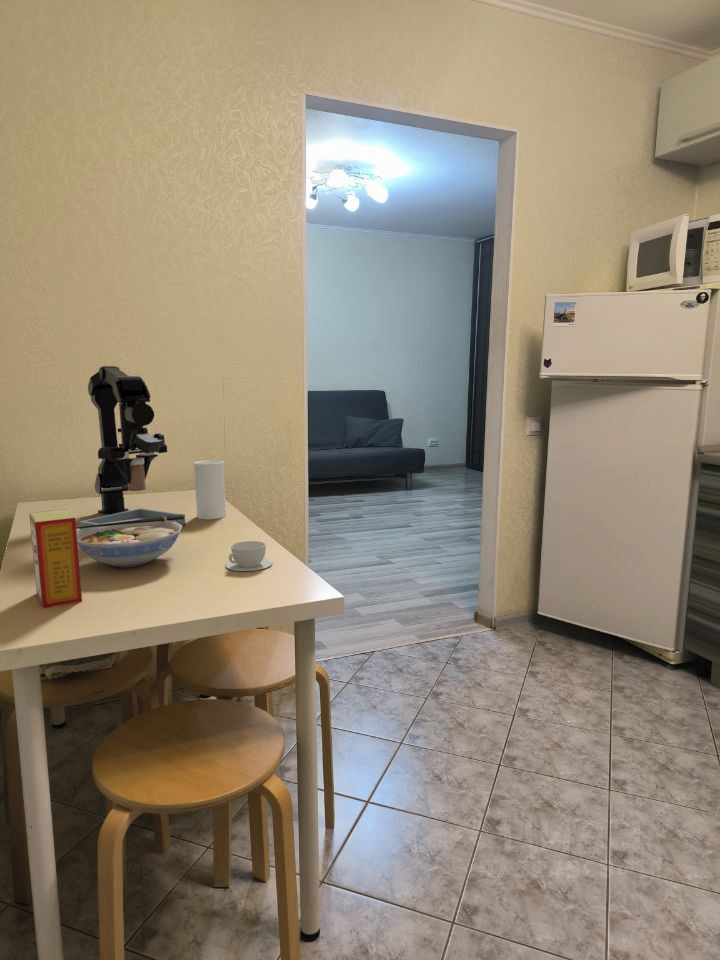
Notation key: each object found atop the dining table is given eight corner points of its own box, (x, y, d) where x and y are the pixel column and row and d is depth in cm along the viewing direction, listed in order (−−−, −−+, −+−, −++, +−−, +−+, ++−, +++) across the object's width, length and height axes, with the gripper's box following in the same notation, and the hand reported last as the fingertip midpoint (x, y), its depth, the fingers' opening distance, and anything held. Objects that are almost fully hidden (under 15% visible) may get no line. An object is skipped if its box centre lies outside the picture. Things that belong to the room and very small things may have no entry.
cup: (229, 513, 195) (227, 460, 192) (220, 519, 187) (218, 463, 184) (202, 513, 196) (199, 460, 193) (192, 519, 188) (189, 463, 185)
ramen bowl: (67, 585, 129) (63, 545, 128) (70, 556, 150) (67, 521, 149) (196, 570, 139) (194, 532, 137) (182, 544, 159) (180, 511, 158)
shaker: (123, 490, 176) (121, 458, 175) (137, 487, 180) (135, 457, 179) (135, 491, 174) (133, 459, 172) (150, 488, 178) (147, 457, 176)
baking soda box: (36, 593, 125) (29, 511, 122) (73, 587, 128) (66, 507, 126) (43, 608, 117) (34, 520, 114) (82, 601, 120) (75, 515, 118)
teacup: (252, 557, 149) (251, 537, 148) (281, 565, 142) (281, 544, 141) (216, 567, 141) (215, 546, 140) (245, 576, 135) (244, 554, 134)
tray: (79, 532, 173) (79, 521, 172) (141, 518, 189) (140, 508, 189) (125, 541, 163) (124, 529, 163) (185, 525, 180) (184, 514, 180)
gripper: (123, 427, 162) (128, 489, 165) (179, 422, 178) (183, 479, 180) (94, 426, 168) (99, 486, 170) (151, 421, 184) (154, 476, 186)
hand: (136, 482), depth 177 cm, fingers closed on shaker, 5 cm apart
